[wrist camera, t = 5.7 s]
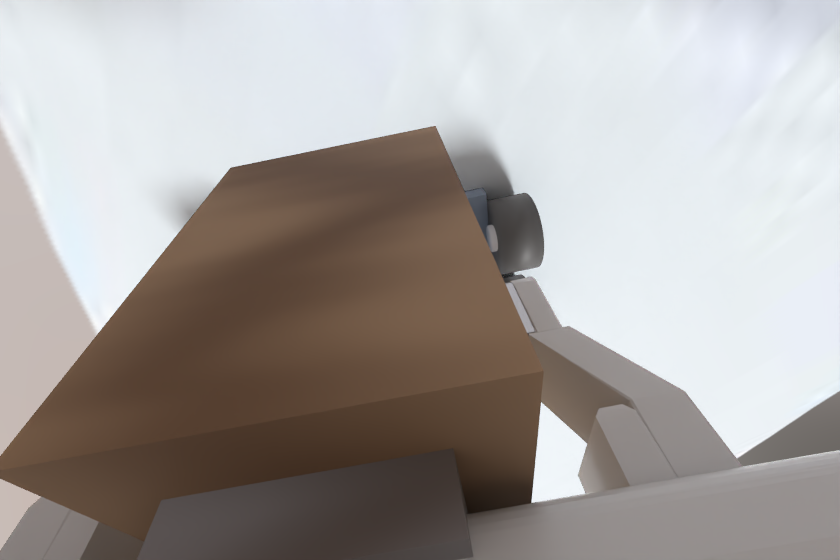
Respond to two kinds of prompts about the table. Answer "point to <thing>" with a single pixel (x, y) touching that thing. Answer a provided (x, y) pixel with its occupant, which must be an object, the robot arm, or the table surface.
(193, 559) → the brown box
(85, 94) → the table surface
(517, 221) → the chassis
